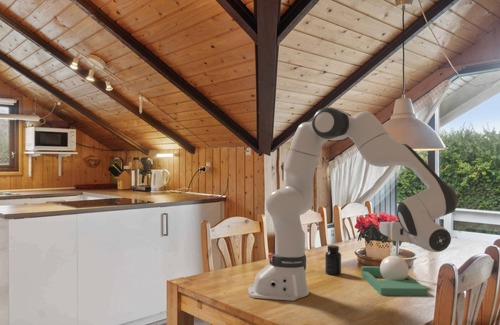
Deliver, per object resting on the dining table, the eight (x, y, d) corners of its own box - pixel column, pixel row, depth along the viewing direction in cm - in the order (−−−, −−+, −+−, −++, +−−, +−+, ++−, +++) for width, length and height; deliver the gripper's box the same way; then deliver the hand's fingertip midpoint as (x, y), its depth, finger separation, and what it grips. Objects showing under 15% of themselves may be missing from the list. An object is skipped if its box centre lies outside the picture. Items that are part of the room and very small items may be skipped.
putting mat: (381, 295, 150) (381, 246, 150) (361, 275, 176) (361, 233, 176) (427, 295, 150) (427, 246, 150) (400, 275, 176) (400, 234, 176)
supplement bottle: (331, 270, 183) (331, 243, 183) (344, 273, 178) (344, 246, 178) (322, 273, 178) (322, 246, 178) (335, 276, 174) (335, 248, 174)
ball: (385, 250, 163) (378, 255, 173) (382, 278, 158) (375, 281, 169) (413, 256, 161) (404, 261, 172) (411, 284, 157) (402, 287, 167)
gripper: (448, 222, 137) (429, 216, 151) (388, 221, 137) (374, 216, 151) (447, 241, 137) (428, 233, 151) (387, 240, 137) (374, 233, 151)
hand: (401, 224), depth 151 cm, fingers closed
